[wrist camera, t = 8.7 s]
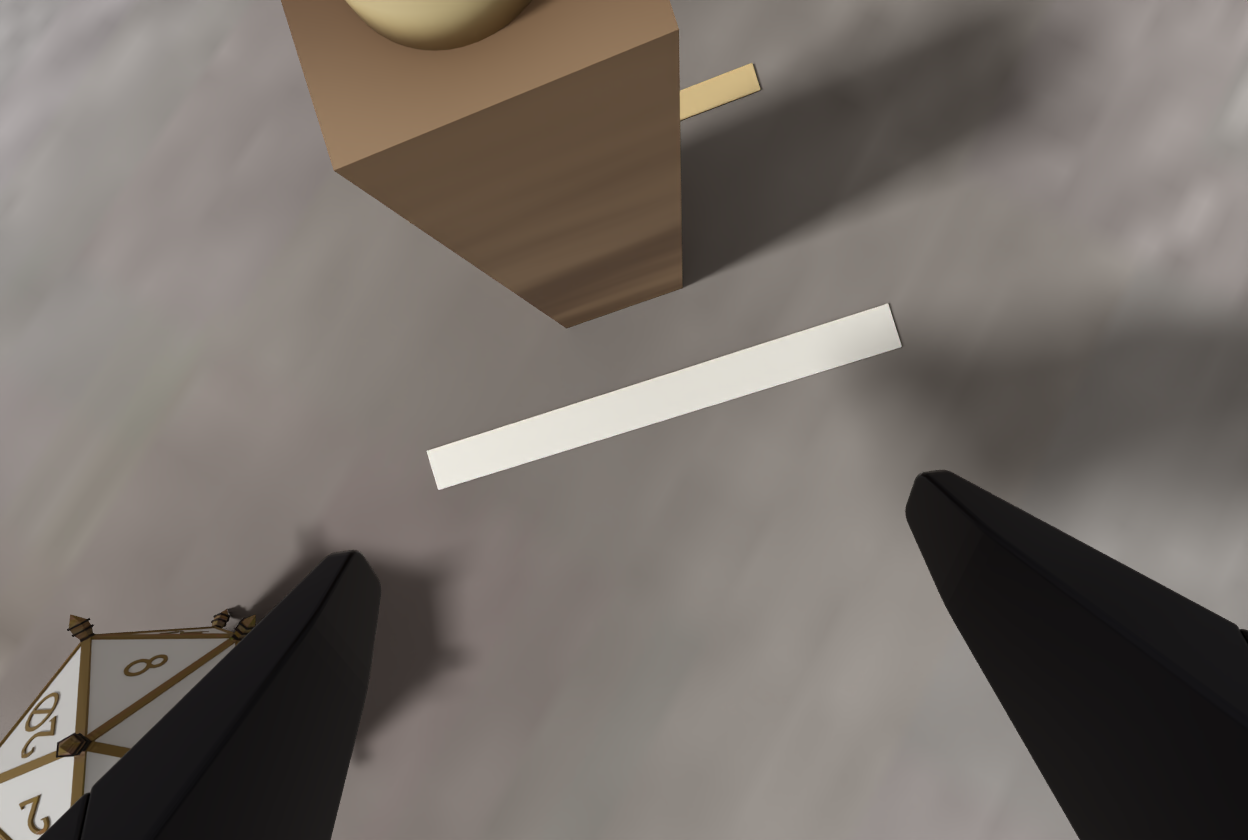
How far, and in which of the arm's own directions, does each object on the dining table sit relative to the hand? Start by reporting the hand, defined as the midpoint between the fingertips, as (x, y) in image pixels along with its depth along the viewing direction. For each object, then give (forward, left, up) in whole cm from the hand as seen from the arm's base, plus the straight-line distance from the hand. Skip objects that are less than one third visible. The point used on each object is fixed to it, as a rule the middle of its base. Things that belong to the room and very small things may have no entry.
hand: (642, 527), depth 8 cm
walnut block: (+7, -4, -11) cm, 14 cm away
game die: (+5, +19, -11) cm, 22 cm away
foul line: (+2, -1, -11) cm, 11 cm away
